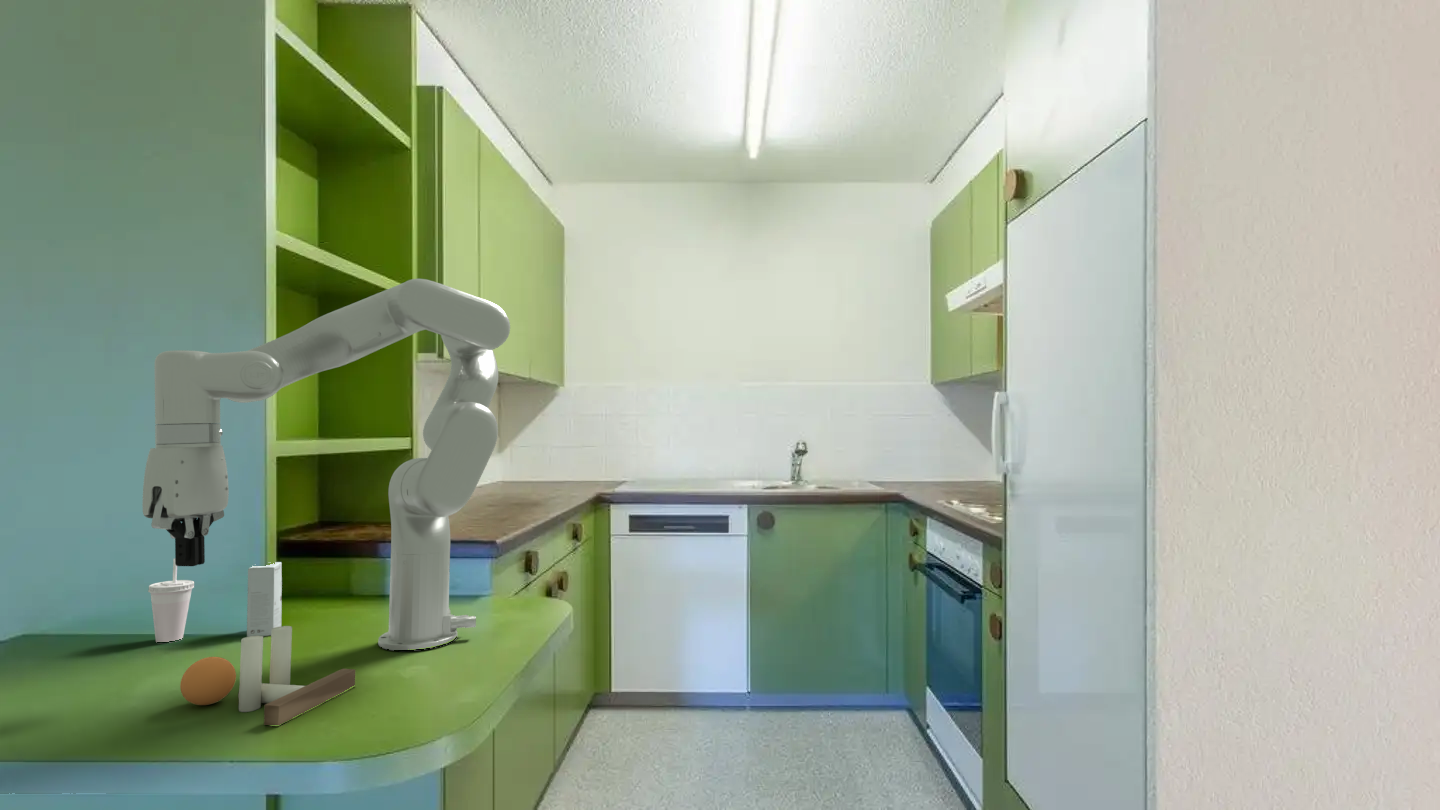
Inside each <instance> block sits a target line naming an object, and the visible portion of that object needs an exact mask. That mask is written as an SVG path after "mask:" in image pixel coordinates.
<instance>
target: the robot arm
mask: <svg viewBox="0 0 1440 810" xmlns="http://www.w3.org/2000/svg"><path fill="white" fill-rule="evenodd" d="M425 330H426V331H428V332H431V333H435V334H437V335H440V337H441V340H442V342H443V344H444V346H445V348H446V349H447V350H446V351H447V352H448V354H449V358H450V362H451V363H450V364H451V367H450V372H449V374H448V375H449V376H448V378H447V380H446V382H445V384H444V386H443V389H442V390H441V392H440V394H439V397H437V400H436V402H435V404H434V406H433V407H432V408H431V409H432V410H431V412H430V414H429V415H428V417H427V418H426V420H425V422H424V425H423V430H422V437H423V438H422V439H423V441H424V443H425V445H426V446H427V447H428V448H429V449H430V450H431V451H430V453H429V454H428V457H427V458H426V457H415V458H411V459H409V460H407V461H405V462H403V463H402V464H400V465H399V466H398V467H397V468H396V469H395V470H394V471H393V473H392V475H391V478H390V480H389V485H388V503H389V514H390V524H391V525H390V527H391V528H390V529H391V532H390V534H391V541H390V542H391V543H390V544H391V545H390V546H391V547H390V568H389V569H390V570H389V571H390V572H389V574H390V575H389V605H388V609H389V610H388V611H389V612H388V614H389V615H388V631H387V632H384V633H383V634H381V635H380V636H379V637H378V641H377V642H378V643H377V644H378V646H379V647H380V648H381V647H382V649H384V650H387V649H389V650H388V651H394V650H408V649H409V650H410V649H419V648H426V647H431V646H437V645H440V644H443V643H446V642H448V641H450V640H452V639H454V638H455V637H456V636H457V637H458V630H457V629H461V628H464V629H466V628H468V629H469V628H476V627H477V616H476V615H470V616H469V614H461V615H455V614H452V613H451V608H450V607H449V606H450V605H449V604H450V567H451V566H450V562H451V525H450V519H449V516H452V515H454V514H456V513H458V512H460V510H462V508H464V507H465V506H466V504H468V502H469V500H470V499H471V497H472V496H473V494H474V491H475V490H476V487H477V485H478V484H479V481H480V479H481V477H482V475H483V474H484V471H485V470H486V467H487V466H488V462H489V460H490V458H491V456H492V454H493V451H494V449H495V448H496V447H495V446H496V444H497V441H498V435H499V426H498V422H497V418H496V417H495V415H494V413H493V412H492V411H491V409H489V407H490V404H491V403H492V399H493V398H494V395H495V392H496V390H497V387H498V382H499V367H498V363H497V360H496V354H495V353H494V350H495V349H497V348H499V347H501V346H502V345H504V343H505V342H506V341H507V340H508V338H509V335H510V331H511V322H510V319H509V317H508V316H507V313H506V312H505V311H504V310H503V308H502V307H500V305H498V304H496V303H494V302H492V301H489V300H487V299H485V298H482V297H479V296H476V295H473V294H471V293H467V292H466V291H462V290H459V289H457V288H454V287H451V286H450V285H449V286H448V285H446V284H443V283H439V282H436V281H434V280H430V279H426V278H412V279H408V280H406V281H405V282H402V283H400V284H396V285H395V286H392V287H390V288H388V289H387V288H386V289H385V290H383V291H381V292H377V293H375V294H373V295H370V296H368V297H366V298H363V299H361V300H358V301H356V302H353V303H351V304H348V305H346V306H342V307H340V308H338V309H335V310H333V311H331V312H328V313H326V314H323V315H321V316H319V317H317V318H315V319H313V320H312V321H310V322H308V323H307V324H305V325H302V326H301V327H299V328H297V329H294V330H293V331H290V332H289V333H286V334H284V335H282V336H280V337H277V338H275V339H272V340H270V341H267V342H266V343H262V344H261V345H258V346H256V347H253V348H250V349H249V350H243V351H242V350H241V351H231V352H229V351H228V352H207V351H201V350H188V349H187V350H179V349H178V350H166V351H162V352H160V353H158V354H157V355H156V357H155V359H154V413H155V414H154V417H155V419H154V424H155V427H154V431H155V432H154V433H155V434H154V435H155V436H154V441H155V443H154V445H155V447H153V448H152V447H151V448H150V449H149V451H148V454H147V459H146V463H145V470H144V474H143V475H144V476H143V486H142V504H141V505H142V515H143V516H144V517H145V518H146V519H151V524H150V525H151V528H153V529H158V530H165V531H167V532H168V533H169V536H170V538H171V539H174V542H175V543H174V546H175V548H174V553H175V555H174V556H175V564H176V566H177V567H197V566H200V565H204V564H205V562H206V560H205V556H206V554H205V552H206V550H205V549H206V548H205V545H206V544H205V537H206V536H208V535H209V532H210V527H211V526H212V525H213V523H214V522H216V521H218V520H221V519H223V518H224V516H225V512H224V509H226V508H227V507H228V504H229V476H228V466H227V461H226V455H225V452H224V447H223V445H222V444H221V437H222V435H223V430H222V429H221V399H228V400H230V401H233V402H236V403H244V404H246V403H253V402H260V401H264V400H268V399H269V398H271V397H273V396H274V395H275V394H277V393H278V392H279V391H280V390H281V389H282V388H285V387H288V386H289V385H291V384H294V383H296V382H298V381H300V380H304V379H305V378H309V376H313V375H316V374H318V373H321V372H324V371H328V370H332V369H336V368H339V367H343V366H346V365H347V364H350V363H353V362H355V361H358V360H359V359H361V358H364V357H366V356H368V355H370V354H372V353H375V352H377V351H380V349H384V348H386V347H387V346H390V345H392V344H394V343H397V342H399V341H401V340H403V339H405V338H407V337H410V336H413V335H414V334H416V333H419V332H421V331H425Z"/></svg>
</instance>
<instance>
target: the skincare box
mask: <svg viewBox="0 0 1440 810" xmlns="http://www.w3.org/2000/svg"><path fill="white" fill-rule="evenodd" d="M274 562H275V564H274V563H273V564H270V565H266V566H253V565H251V566H252V567H251V566H250V567H248V569H247V600H246V601H247V605H246V606H247V609H246V611H247V613H246V614H247V615H246V618H247V619H246V637H250V636H263V637H268V636H269V637H270V636H271V632H272V629H273V628H275V627H280V626H282V614H283V613H282V611H283V610H282V608H283V607H282V606H283V605H282V602H283V601H282V593H283V592H282V591H283V589H282V588H283V586H282V585H283V577H282V575H283V574H282V572H283V571H282V568H283V567H282V564H283V563H282V561H274Z"/></svg>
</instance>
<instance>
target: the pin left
mask: <svg viewBox="0 0 1440 810" xmlns="http://www.w3.org/2000/svg"><path fill="white" fill-rule="evenodd" d="M240 641H241V642H240V661H239V662H240V663H239V664H240V666H239V690H238V693H239V698H238V712H241V713H247V712H253V711H257V710H259V709H260V708H261V707H262V706H261V705H262V703H261V684H262V683H263V682H262V679H263V678H262V677H263V652H264V636H250V637H248V636H246V637H243V638H241V640H240Z"/></svg>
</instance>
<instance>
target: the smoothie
mask: <svg viewBox="0 0 1440 810" xmlns="http://www.w3.org/2000/svg"><path fill="white" fill-rule="evenodd" d="M172 563H173V564H172V580H166V581H160V582H155V583H152V584H149V585H148V590H147V592H148V593H150V600H151V601H150V602H151V609H152V610H151V611H152V618H153V628H154V637H155V642H156V643H157V642H169V641H175V640H179V639H181V640H183V639H184V633H185V628H186V623H187V618H188V612H189V608H190V602H191V595H192V590H193V589H194V588H195V581H193V580H190V579H177V577H178V576H177V575H178V566H176V564H175V558H173V560H172ZM182 638H183V639H182ZM179 641H180V640H179ZM175 642H176V641H175ZM169 643H170V642H169Z"/></svg>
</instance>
